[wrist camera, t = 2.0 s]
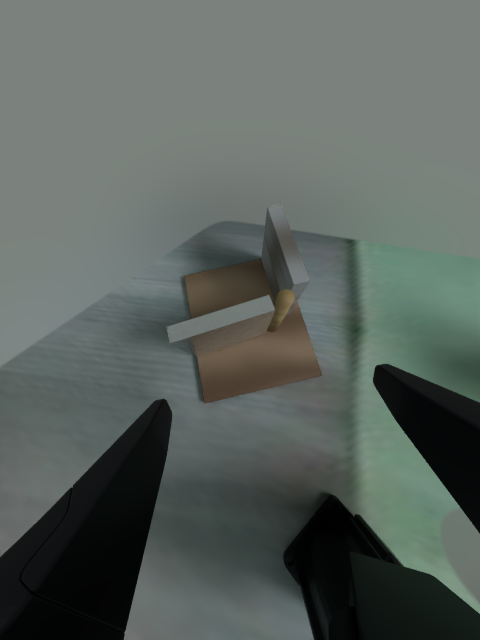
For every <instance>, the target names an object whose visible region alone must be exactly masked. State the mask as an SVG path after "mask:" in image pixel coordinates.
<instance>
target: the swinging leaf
mask: <svg viewBox="0 0 480 640" xmlns="http://www.w3.org/2000/svg"><path fill="white" fill-rule="evenodd" d="M274 312H275V308H274V306H273V303H272V301H271V298H270V296H269V295H267V296H264V297H261V298H258V299H254V300H251V301H248V302H245V303H242V304H238V305H235V306H232V307H229V308H226V309H222V310H219V311H216V312H213V313H209V314H206V315H203V316H200V317H197V318H193V319H190V320H187V321H184V322H181V323H177V324H174V325H171V326H168V327H167V332H168V337H169V341H170V344H172V345H175V346H177V347H179V348H181V349H183V350H185V351H187V352H189V353H192V354H194V355H196V356H199V355H203V354H206V353H209V352H212V351H215V350H218V349H221V348H224V347H227V346H230V345H233V344H237V343H240V342H243V341H246V340H249V339H252V338H255V337H258V336H261V335H264V334H266V332H267V329H268V327H269V324H270V322H271V319H272V317H273V314H274Z"/></svg>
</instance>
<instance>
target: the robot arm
mask: <svg viewBox="0 0 480 640" xmlns="http://www.w3.org/2000/svg"><path fill="white" fill-rule="evenodd" d="M373 383H374V386H375V387H376V389H377V391H378V392H379V394H380V395H381V397H382V399H383V400H384V402H385V404H386V405H387V407H388V409H389V410H390V412H391V414H392V415H393V417H394V418H395V420H396V421H397V423H398V424H399V425H400V427H401V428H402V430H403V431H404V432H405V434H406V435H407V436H408V438H409V439H410V440H411V442H412V443H413V444H414V446H415V447H416V448H417V450H418V451H419V452H420V454H421V455H422V456H423V458H424V459H425V460H426V462H427V463H428V464H429V466H430V467H431V468H432V470H433V471H434V473H435V474H436V475H437V477H438V478H439V479H440V481H441V482H442V483H443V485H444V486H445V487H446V489H447V490H448V491H449V493H450V494H451V495H452V497H453V498H454V499H455V501H456V502H457V503H458V505H459V506H460V507H461V509H462V510H463V511H464V513H465V514H466V515H467V517H468V518H469V520H470V521H471V522H472V524H473V525H474V526H475V528H476V529H477V530H478V532H479V533H480V403H479V402H477V401H474V400H472V399H470V398H467V397H465V396H463V395H460V394H458V393H455V392H453V391H451V390H448V389H446V388H444V387H441V386H439V385H436V384H434V383H432V382H429V381H427V380H425V379H422V378H420V377H418V376H415V375H413V374H410V373H408V372H406V371H403V370H401V369H399V368H396V367H394V366H392V365H389V364H381V365H377V366H376V367H375V371H374V377H373ZM171 422H172V411H171V409H170V407H169V405H168V403H167V401H166V400H165V399H160V400H156V401H154V402H153V403H152V404H151V405H150V406H149V407H148V408H147V409H146V411H145V412H144V413H143V414H142V415H141V416H140V417H139V418H138V419H137V420H136V421H135V422H134V423H133V424H132V425H131V426H130V427H129V428H128V429H127V430H126V431H125V432H124V433H123V434H122V435H121V436H120V437H119V438H118V439H117V441H116V442H115V443H114V444H113V445H112V446H111V447H110V448H109V449H108V450H107V451H106V452H105V453H104V454H103V455H102V456H101V457H100V458H99V459H98V460H97V461H96V462H95V463H94V464H93V465H92V466H91V467H90V468H89V469H88V471H87V472H86V473H85V474H84V475H83V476H82V477H81V478H80V479H79V480H78V481H77V482H76V483H75V484H74V485H73V488H70V489H69V490H68V491H67V492H66V493H65V494H64V495H63V496H62V497H61V498H60V499H59V500H58V501H57V502H56V503H55V504H54V505H53V506H52V507H51V508H50V510H49V511H48V512H47V513H46V514H45V515H44V516H43V517H42V518H41V519H40V520H39V521H38V522H37V523H35V524H34V525H33V526H32V527H31V528H30V529H29V530H28V531H27V532H26V533H25V534H24V535H23V536H22V537H21V538H20V539H19V540H18V541H17V542H16V543H15V544H14V545H13V546H12V547H11V548H9V549H8V550H7V551H6V552H5V553H4V554H3V555H2V556H1V557H0V640H124V635H125V634H124V632H125V630H126V626H127V622H128V618H129V613H130V609H131V605H132V601H133V597H134V592H135V588H136V584H137V580H138V575H139V571H140V567H141V563H142V559H143V554H144V550H145V546H146V542H147V537H148V533H149V529H150V525H151V520H152V516H153V512H154V508H155V504H156V499H157V495H158V491H159V487H160V482H161V478H162V474H163V470H164V465H165V461H166V457H167V451H168V444H169V436H170V429H171ZM333 502H336V505H335V506H332V504H333ZM288 558H292V561H291V562H289V561H287V560H288ZM283 559H284V564H285V566H286V568H287V569H288V571H289V572H290V573H291V575H292V576H293V577H294V579H295V580H296V582H297V583H298V584H299V586H300V587H301V591H302V595H303V599H304V603H305V607H306V611H307V614H308V618H309V622H310V626H311V630H312V634H313V638H314V640H480V614H479V613H478V612H477V611H475V610H474V609H473V608H472V607H471V606H469V605H468V604H467V603H466V602H465V601H463V600H462V599H461V598H460V597H459V596H457V595H456V594H455V593H454V592H452V591H451V590H450V589H449V588H448V587H446V586H445V585H444V584H443V583H442V582H440V581H439V580H438V579H437V578H435V577H434V576H432V575H430V574H427V573H424V572H420V571H417V570H413V569H410V568H407V567H404V566H403V565H402V563H401V562H400V561H399V560H398V559H397V558H396V556H395V555H394V554H393V553H392V552H391V550H390V549H389V548H388V547H387V546H386V544H385V543H384V542H383V541H382V540H381V539H380V537H379V536H378V535H377V534H376V533H375V532H374V531H373V530H372V528H371V527H370V526H369V525H368V524H367V523H366V522H365V521H364V519H363V518H362V517H361V516H360V515H357V514H355V516H353V515H352V514H351V513H350V512H349V511H348V509H347V508H346V507H345V506H344V505H343V504H342V503H341V501H340V500H339V499H338V498H337V497H336V496H333V495H332V496H330V497H329V498H328V499H327V500H326V501H325V503H324V504H323V505H322V506H321V507H320V509H319V510H318V511H317V512H316V514H315V515H314V516H313V517H312V519H311V520H310V521H309V522H308V524H307V525H306V526H305V527H304V529H303V530H302V531H301V532H300V534H299V535H298V536H297V537H296V538H295V540H294V541H293V542H292V543H291V545H290V546H289V547H288V548H287V550H286V551H285V552H284V555H283Z"/></svg>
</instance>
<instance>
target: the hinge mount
mask: <svg viewBox="0 0 480 640" xmlns="http://www.w3.org/2000/svg"><path fill="white" fill-rule="evenodd" d="M309 281H310V280H309V278H308V275H307V272H306V270H305V267H304V264H303V261H302V259H301V256H300V253H299V251H298V248H297V245H296V243H295V240H294V237H293V235H292V232H291V229H290V227H289V224H288V221H287V218H286V216H285V213H284V210H283V208H282V205H281V204H279V205H274V206H269V207H267V215H266V223H265V232H264V241H263V249H262V258H261V259H259V260H255V261H250V262H246V263H241V264H236V265H232V266H227V267H223V268H218V269H214V270H209V271H204V272H200V273H195V274H191V275H186V276H185V283H186V289H187V295H188V302H189V308H190V314H191V319H193V318H197V317H200V316H203V315H206V314H209V313H213V312H216V311H219V310H222V309H226V308H229V307H232V306H235V305H238V304H242V303H245V302H248V301H251V300H254V299H258V298H261V297H264V296H267V295H269V296H270V298H271V301H272V303H273V306H274V308H275V312H274V314H273V317H272V319H271V322H270V324H269V327H268V329H267V332H266V334H264V335H261V336H258V337H255V338H252V339H249V340H246V341H243V342H240V343H237V344H233V345H230V346H227V347H224V348H221V349H218V350H215V351H212V352H209V353H206V354H203V355H199V356H197V358H198V365H199V371H200V377H201V384H202V390H203V396H204V402H205V403H209V402H213V401H217V400H221V399H225V398H230V397H234V396H238V395H242V394H246V393H251V392H255V391H259V390H263V389H267V388H272V387H276V386H280V385H284V384H288V383H293V382H297V381H301V380H305V379H309V378H313V377H318V376H322V373H321V370H320V367H319V364H318V361H317V359H316V356H315V353H314V350H313V347H312V344H311V341H310V338H309V335H308V332H307V329H306V326H305V323H304V320H303V317H302V314H301V311H300V308H299V305H298V302H297V301H298V299H299V297H300V296H301V294H302V293H303V291H304V289H305V288H306V286H307V285H308V283H309Z"/></svg>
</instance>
